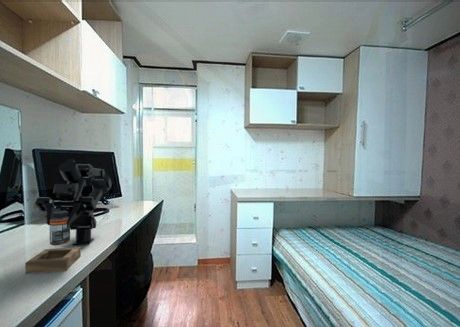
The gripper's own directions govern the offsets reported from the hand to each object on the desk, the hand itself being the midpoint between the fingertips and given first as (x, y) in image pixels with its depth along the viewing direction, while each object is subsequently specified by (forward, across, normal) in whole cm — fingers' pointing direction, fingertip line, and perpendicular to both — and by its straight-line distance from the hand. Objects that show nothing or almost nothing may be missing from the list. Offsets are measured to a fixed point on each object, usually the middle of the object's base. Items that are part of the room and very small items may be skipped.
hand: (58, 224), depth 81 cm
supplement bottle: (+4, 0, +6) cm, 7 cm away
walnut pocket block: (+11, 0, +8) cm, 13 cm away
